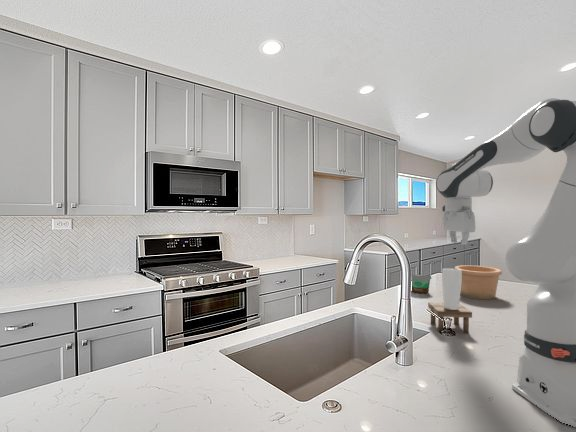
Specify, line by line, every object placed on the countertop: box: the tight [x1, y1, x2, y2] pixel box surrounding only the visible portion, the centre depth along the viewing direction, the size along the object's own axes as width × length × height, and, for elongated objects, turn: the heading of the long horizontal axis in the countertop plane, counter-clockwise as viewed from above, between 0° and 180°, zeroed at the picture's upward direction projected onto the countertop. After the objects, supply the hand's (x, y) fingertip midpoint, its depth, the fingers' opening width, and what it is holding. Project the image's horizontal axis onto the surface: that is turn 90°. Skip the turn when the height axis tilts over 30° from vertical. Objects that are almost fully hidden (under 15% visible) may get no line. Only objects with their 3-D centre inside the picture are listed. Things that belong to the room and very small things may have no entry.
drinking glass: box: [441, 267, 462, 310], centre depth 127 cm, size 7×7×15 cm
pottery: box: [454, 264, 503, 300], centre depth 178 cm, size 22×22×14 cm
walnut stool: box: [427, 301, 473, 334], centre depth 130 cm, size 12×12×8 cm
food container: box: [411, 274, 432, 295], centre depth 183 cm, size 12×6×10 cm, turn 73°
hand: (458, 243), depth 126 cm, fingers open, 8 cm apart
